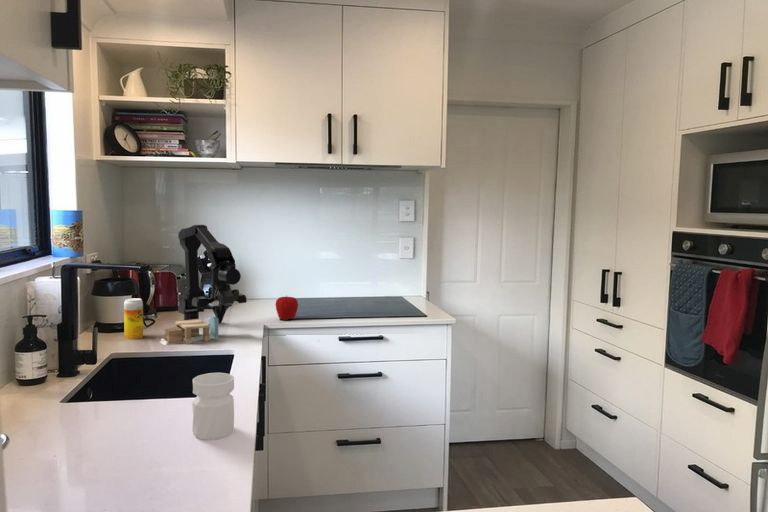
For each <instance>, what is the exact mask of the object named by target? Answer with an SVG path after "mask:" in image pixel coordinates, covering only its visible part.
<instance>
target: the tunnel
mask: <svg viewBox="0 0 768 512" xmlns="http://www.w3.org/2000/svg"><path fill="white" fill-rule="evenodd" d="M174 324H175V327H179V328H180V329H182V338H185V342H184V344H186V345H191V344H192V341H191V337H195V336H200V329H202V336H203V340H202V341H203V342H210V339H209V335H210V323H209V324H208V323H207V322H204V321H203V320H201V319H200V318H199V319H192V320H184V319H183V320H176V321H175V323H174Z"/></svg>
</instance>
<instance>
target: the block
mask: <svg viewBox="0 0 768 512" xmlns="http://www.w3.org/2000/svg"><path fill="white" fill-rule="evenodd" d="M182 338H183V337H182V329H180V328H179V327H167V328H166V327H165V328H164V340H166V341H167V342H168V344H169V345H172V344H171V343H176V344H179V343H178V342H182Z"/></svg>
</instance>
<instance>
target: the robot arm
mask: <svg viewBox="0 0 768 512" xmlns="http://www.w3.org/2000/svg"><path fill="white" fill-rule="evenodd" d="M177 234H178V237H177V238H178V240H179V246H181V248H182V249H183V251H184V263H185V267H184V269H185V283H186V284H185V285H186V286H185V289H184V291H183V293H182V298H181V301H180V302H179V305H178V307H177V308H178V310H177V311H178V313H180V314H182V315H183V320H192V319H199V320H200V313H202V312H204V311H205V308H206V307H207V306H208V307H210V309H211V310H212V312H213V314H214V317H216V318H218V324H222V322H223V320H224V317H225V315H226V312H227V310H228V309H229V307H232V306H233V305H234V302H237V304H243V303H244V304H247V296H246V295H245V294H243V293H240V291H239V289H231V288H230V285H233V286H234V285H237V284H238V283H239V282H240V280H241V273H240V270H239V269H237V268H236V260H235V258H234V256H233V254H232V253H233V252H232V251H231V249H230V248H229V246H227V245H226V244H224V243H220V242H219V241H218V240H217V239H216V237H214V236H213V234H212V233H211V232H210V231H209V229H208V226H207V225H205V224H194V225H191V226H189V227H186V228H181V229H180V231H179V232H178V233H177ZM201 245H202V246H203V247H204V249H206V251H207V252H206V257H207V258H208V260H209V262H210V263H211V264H210V265H209V268H210V269H211V283H209V285H210V287H211V294H210V298H208V297H206V296H205V291H204V290H202V289H201V287H200V276H199V275H200V274H199V254H198V253H199V252H198V250H199V248H200V247H201Z"/></svg>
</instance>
